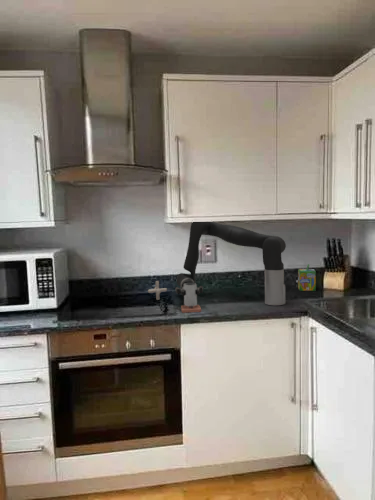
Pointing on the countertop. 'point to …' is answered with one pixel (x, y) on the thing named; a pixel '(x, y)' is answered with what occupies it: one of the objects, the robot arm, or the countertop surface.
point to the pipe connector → (157, 290)
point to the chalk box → (307, 279)
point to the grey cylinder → (190, 294)
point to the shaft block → (190, 308)
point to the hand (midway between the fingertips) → (190, 293)
